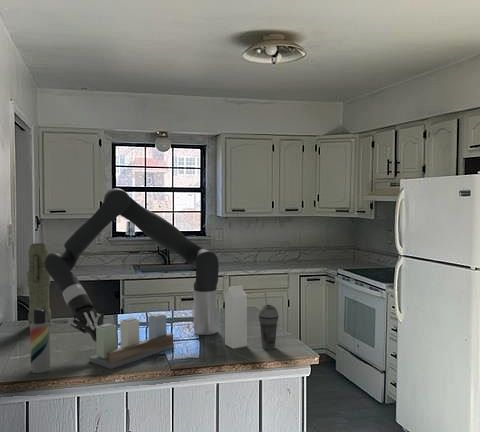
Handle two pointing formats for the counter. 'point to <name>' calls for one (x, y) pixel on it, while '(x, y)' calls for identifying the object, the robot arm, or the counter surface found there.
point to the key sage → (105, 339)
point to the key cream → (129, 332)
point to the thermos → (38, 281)
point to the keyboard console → (134, 352)
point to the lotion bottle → (40, 342)
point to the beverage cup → (268, 325)
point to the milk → (236, 317)
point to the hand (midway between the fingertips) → (99, 340)
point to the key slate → (157, 326)
